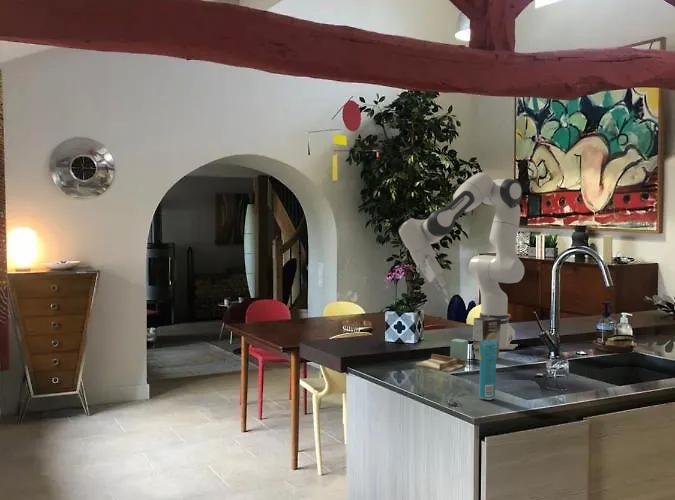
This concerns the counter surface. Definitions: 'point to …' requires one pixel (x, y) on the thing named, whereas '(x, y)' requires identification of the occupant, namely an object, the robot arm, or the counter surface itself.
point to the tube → (487, 368)
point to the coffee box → (485, 333)
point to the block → (459, 349)
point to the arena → (442, 363)
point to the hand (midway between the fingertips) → (442, 287)
